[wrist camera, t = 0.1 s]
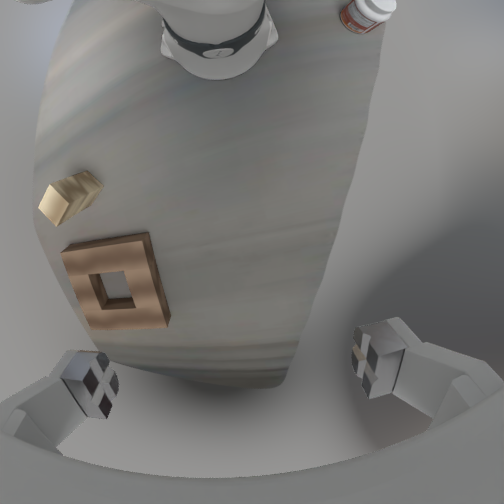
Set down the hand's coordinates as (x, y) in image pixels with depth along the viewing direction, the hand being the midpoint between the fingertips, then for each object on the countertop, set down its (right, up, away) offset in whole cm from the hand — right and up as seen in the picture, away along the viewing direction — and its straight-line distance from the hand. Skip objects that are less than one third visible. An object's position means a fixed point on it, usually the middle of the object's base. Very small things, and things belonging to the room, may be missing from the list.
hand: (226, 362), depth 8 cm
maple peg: (-28, +15, +34) cm, 47 cm away
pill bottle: (+19, +44, +25) cm, 54 cm away
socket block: (-25, -2, +42) cm, 49 cm away
